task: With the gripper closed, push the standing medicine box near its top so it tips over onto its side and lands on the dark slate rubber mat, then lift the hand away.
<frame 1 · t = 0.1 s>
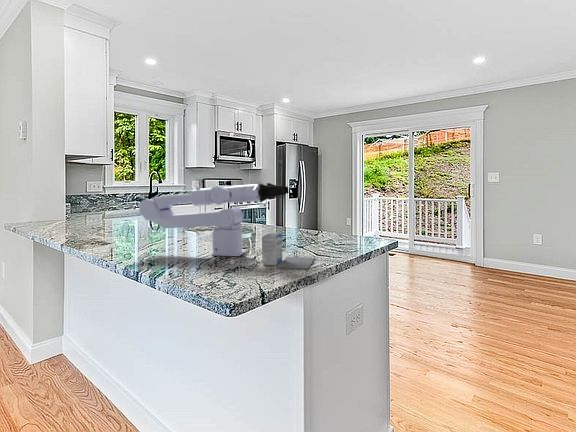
hand: (285, 190, 119), 22 cm above the table, tool horizontal, fingers open, 7 cm apart
medicine box: (272, 263, 112), on the table
slate mat: (296, 263, 110), on the table
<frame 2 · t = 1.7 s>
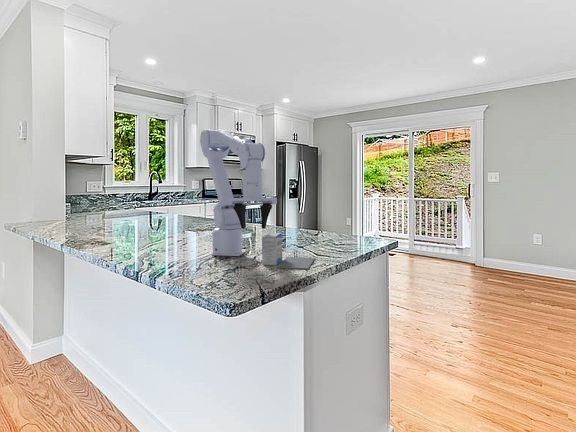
hand: (253, 228, 112), 10 cm above the table, tool pointing down, fingers open, 6 cm apart
nothing on the table moved.
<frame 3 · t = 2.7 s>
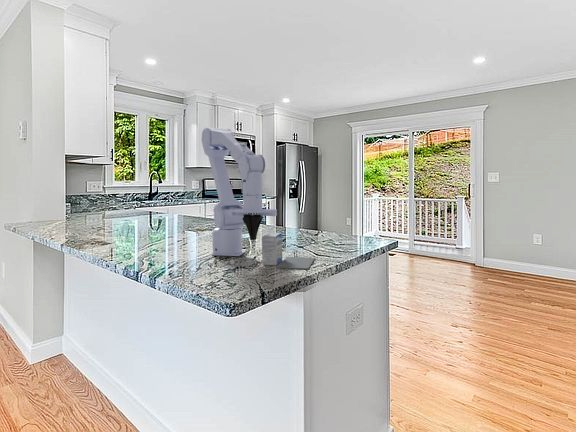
hand: (253, 239, 113), 7 cm above the table, tool pointing down, fingers closed
nothing on the table moved.
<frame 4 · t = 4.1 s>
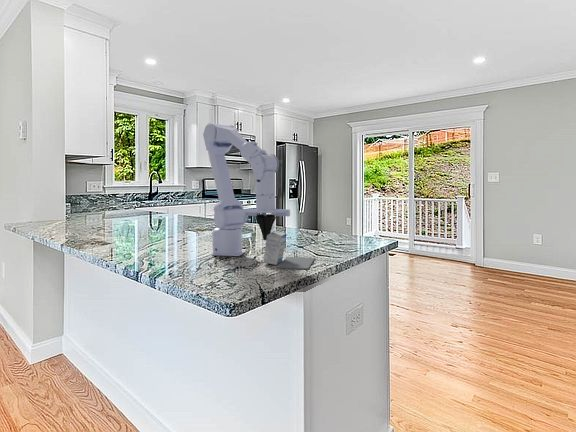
hand: (266, 239, 112), 7 cm above the table, tool pointing down, fingers closed
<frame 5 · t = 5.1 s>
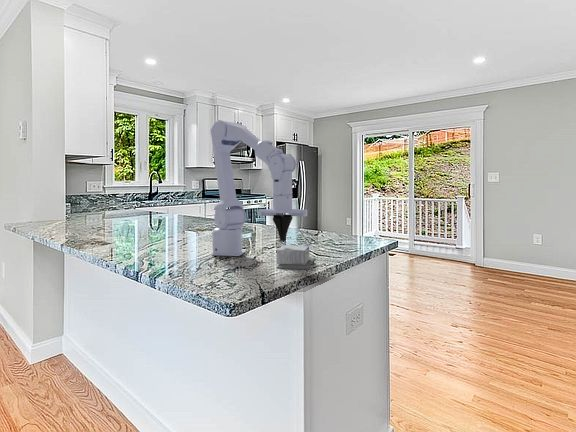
hand: (283, 240, 111), 7 cm above the table, tool pointing down, fingers closed
medicine box: (278, 254, 111), point 3 cm above the table, touching slate mat
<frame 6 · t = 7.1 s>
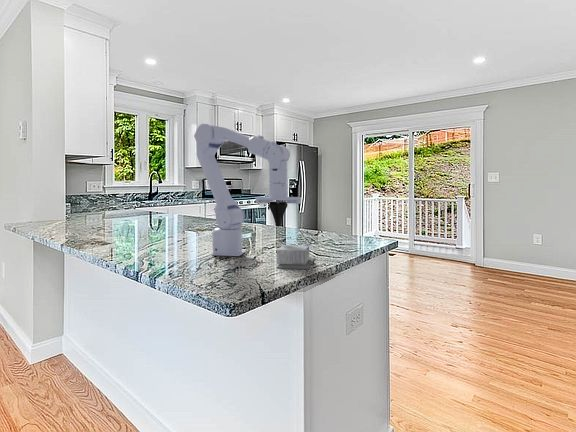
hand: (278, 225, 118), 10 cm above the table, tool pointing down, fingers closed
nothing on the table moved.
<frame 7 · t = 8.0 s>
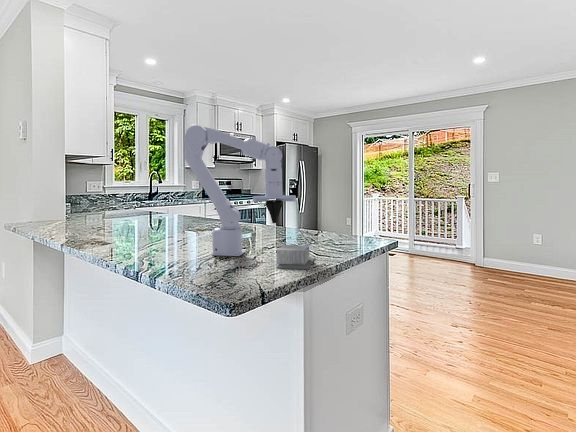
hand: (274, 222, 125), 10 cm above the table, tool pointing down, fingers closed
nothing on the table moved.
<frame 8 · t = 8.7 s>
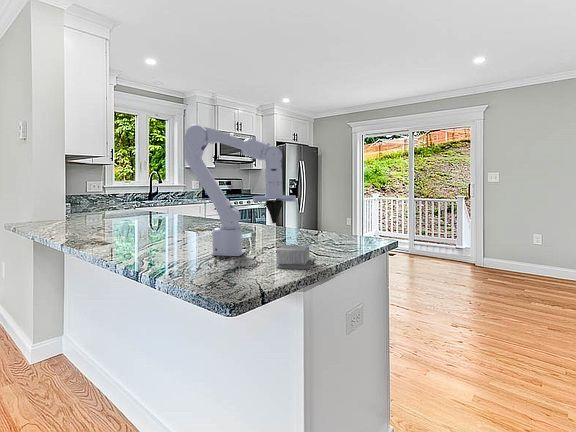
hand: (274, 222, 125), 10 cm above the table, tool pointing down, fingers closed
nothing on the table moved.
at the end: medicine box tilted 90°; medicine box touching slate mat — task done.
